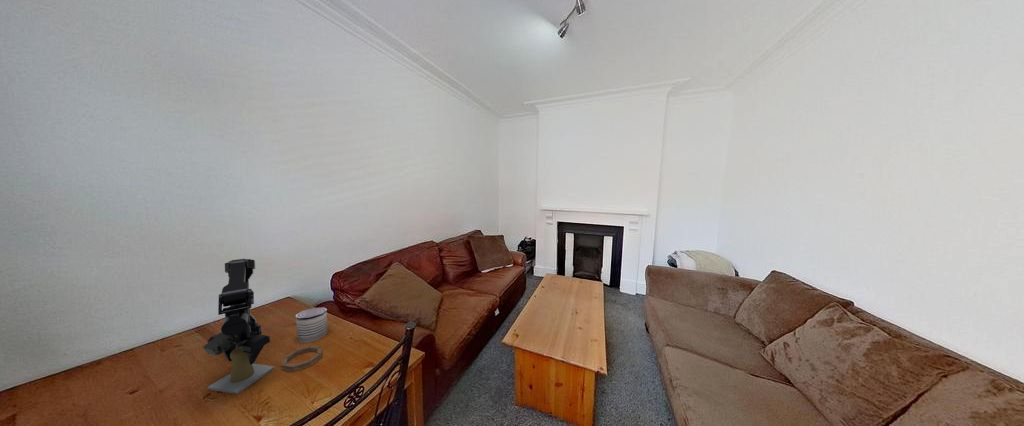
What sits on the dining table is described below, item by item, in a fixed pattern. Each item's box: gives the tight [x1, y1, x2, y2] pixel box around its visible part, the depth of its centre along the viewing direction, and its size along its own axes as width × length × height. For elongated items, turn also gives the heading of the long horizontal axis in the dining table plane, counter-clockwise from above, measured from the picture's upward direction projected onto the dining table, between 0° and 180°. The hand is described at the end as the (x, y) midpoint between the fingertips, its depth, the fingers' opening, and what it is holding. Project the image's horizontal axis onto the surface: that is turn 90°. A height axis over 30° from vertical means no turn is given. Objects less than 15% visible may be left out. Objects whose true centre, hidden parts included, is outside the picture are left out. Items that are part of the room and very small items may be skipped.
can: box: [295, 306, 328, 344], centre depth 117 cm, size 11×11×12 cm
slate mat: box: [206, 363, 275, 395], centre depth 91 cm, size 12×12×1 cm
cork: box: [230, 346, 254, 383], centre depth 90 cm, size 6×6×11 cm
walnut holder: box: [280, 344, 323, 373], centre depth 101 cm, size 12×12×2 cm
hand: (241, 361), depth 90 cm, fingers open, 9 cm apart
